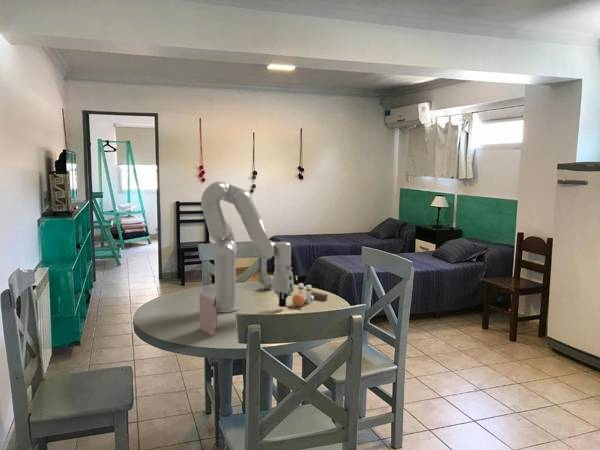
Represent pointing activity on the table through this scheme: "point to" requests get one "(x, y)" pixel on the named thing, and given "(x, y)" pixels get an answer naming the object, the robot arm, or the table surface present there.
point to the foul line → (292, 307)
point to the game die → (268, 282)
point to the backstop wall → (319, 296)
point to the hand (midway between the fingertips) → (282, 306)
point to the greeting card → (208, 314)
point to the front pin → (311, 298)
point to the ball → (298, 300)
